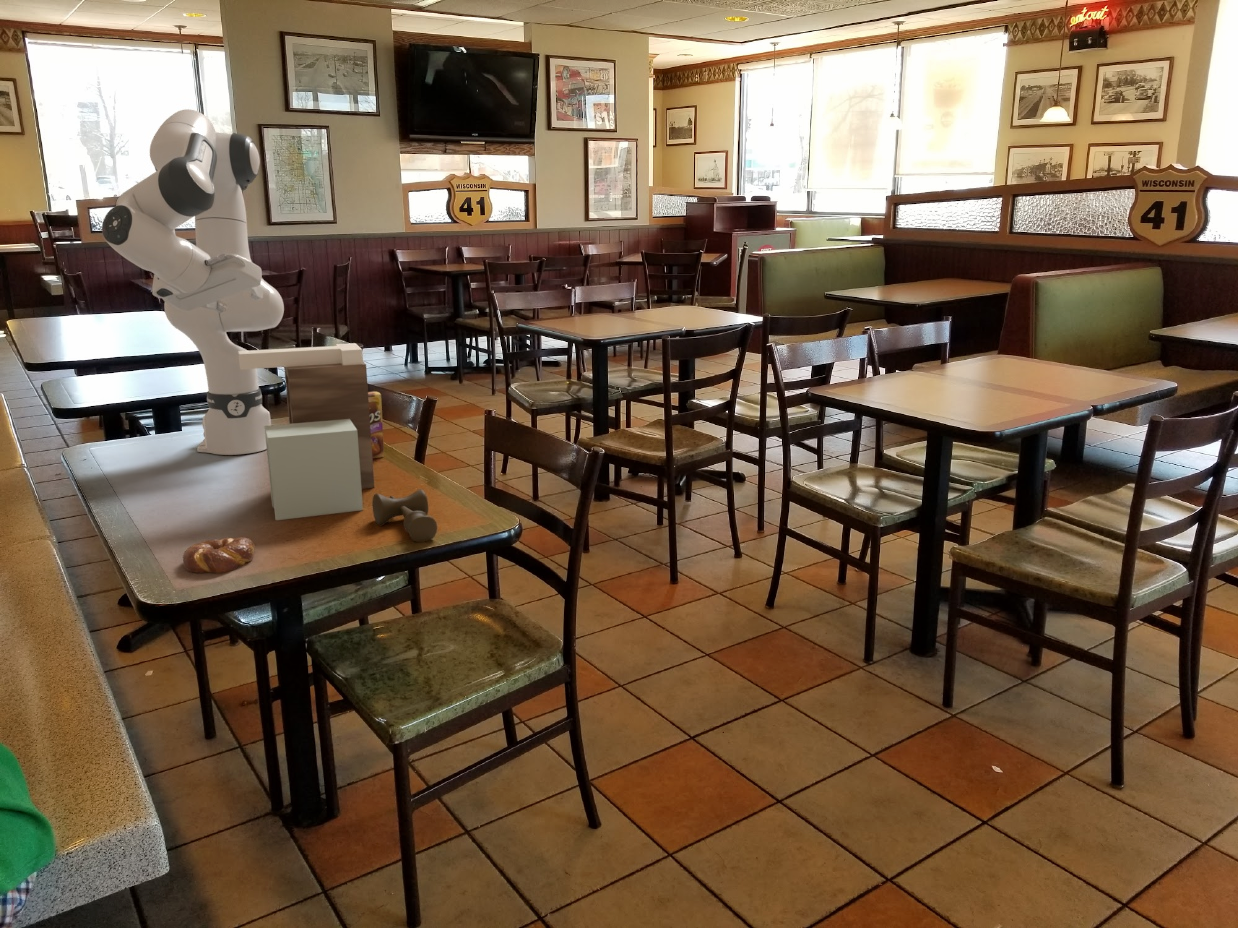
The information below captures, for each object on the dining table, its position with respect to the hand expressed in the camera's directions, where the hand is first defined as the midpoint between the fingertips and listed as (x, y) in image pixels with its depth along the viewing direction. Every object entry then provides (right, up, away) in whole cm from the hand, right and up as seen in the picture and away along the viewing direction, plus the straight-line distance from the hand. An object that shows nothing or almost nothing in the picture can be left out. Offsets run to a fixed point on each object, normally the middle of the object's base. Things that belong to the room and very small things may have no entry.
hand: (242, 302), depth 189 cm
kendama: (+37, -44, -14) cm, 59 cm away
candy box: (+16, -31, +30) cm, 46 cm away
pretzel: (+9, -49, -32) cm, 59 cm away
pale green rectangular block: (+17, -41, -5) cm, 44 cm away
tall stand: (+16, -37, +9) cm, 41 cm away
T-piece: (+11, -12, 0) cm, 17 cm away
